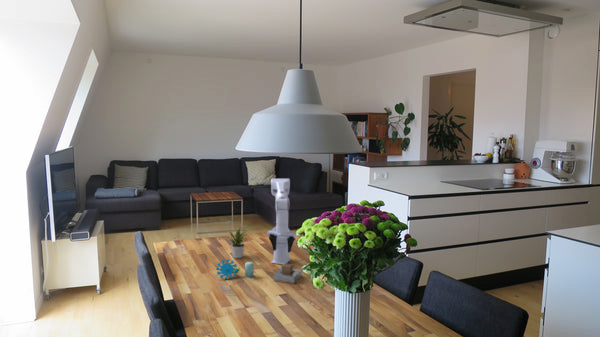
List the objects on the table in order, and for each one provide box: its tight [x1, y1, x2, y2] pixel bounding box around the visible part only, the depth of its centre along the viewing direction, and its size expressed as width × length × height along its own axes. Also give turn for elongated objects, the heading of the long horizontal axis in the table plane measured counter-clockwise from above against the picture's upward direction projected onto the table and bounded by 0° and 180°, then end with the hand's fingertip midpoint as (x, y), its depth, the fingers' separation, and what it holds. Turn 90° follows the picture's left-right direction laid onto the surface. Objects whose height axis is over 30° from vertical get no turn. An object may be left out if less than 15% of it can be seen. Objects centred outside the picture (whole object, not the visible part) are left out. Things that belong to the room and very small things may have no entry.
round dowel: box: [244, 261, 255, 278], centre depth 206 cm, size 4×4×6 cm
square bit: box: [281, 262, 294, 274], centre depth 203 cm, size 4×4×6 cm
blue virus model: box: [215, 258, 241, 281], centre depth 205 cm, size 11×6×10 cm
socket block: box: [273, 267, 303, 284], centre depth 204 cm, size 10×10×3 cm
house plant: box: [227, 226, 251, 259], centre depth 232 cm, size 14×14×16 cm
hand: (281, 251), depth 211 cm, fingers open, 7 cm apart
